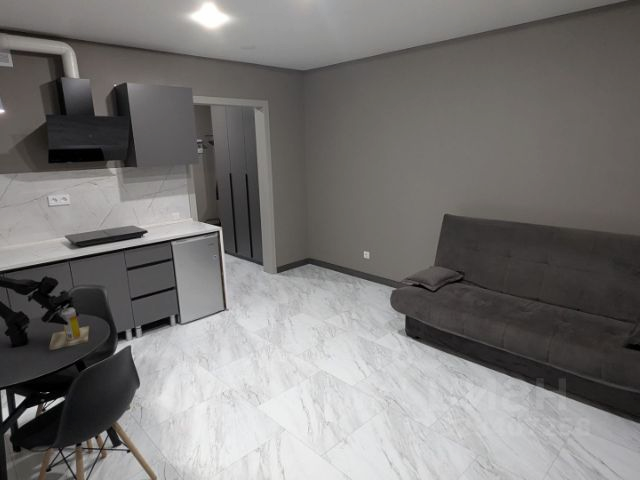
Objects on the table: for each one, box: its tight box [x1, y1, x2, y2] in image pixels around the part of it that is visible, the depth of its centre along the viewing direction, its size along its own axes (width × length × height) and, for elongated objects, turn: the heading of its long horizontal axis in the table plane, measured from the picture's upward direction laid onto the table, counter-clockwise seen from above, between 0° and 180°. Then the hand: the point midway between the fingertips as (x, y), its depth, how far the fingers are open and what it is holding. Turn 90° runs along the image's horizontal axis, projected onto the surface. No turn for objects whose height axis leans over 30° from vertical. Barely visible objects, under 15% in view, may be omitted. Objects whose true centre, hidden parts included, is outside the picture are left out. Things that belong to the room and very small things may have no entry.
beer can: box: [60, 307, 80, 340], centre depth 198 cm, size 6×6×15 cm
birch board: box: [48, 325, 90, 351], centre depth 201 cm, size 16×16×2 cm
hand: (73, 319), depth 197 cm, fingers open, 9 cm apart
